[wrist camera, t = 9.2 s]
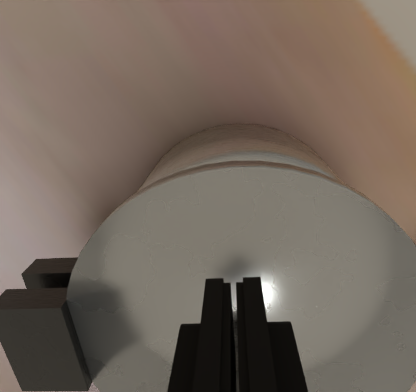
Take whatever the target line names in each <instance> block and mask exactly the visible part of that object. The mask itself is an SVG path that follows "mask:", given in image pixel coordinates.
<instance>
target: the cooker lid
mask: <svg viewBox="0 0 416 392" xmlns="http://www.w3.org/2000/svg"><path fill="white" fill-rule="evenodd" d="M243 277H260V278H261V284H262V291H263V297H264V304H265V311H266V317H267V322H283V321H290V322H291V324H292V328H293V332H294V336H295V340H296V344H297V348H298V352H299V356H300V360H301V364H302V368H303V372H304V376H305V380H306V385H307V389H308V392H407V391H408V390H409V389H410V388H411V386H412V385H413V384H414V382H415V381H416V245H415V244H414V242H413V241H412V239H411V238H410V237H409V236H408V235H407V234H406V233H405V232H404V231H403V230H402V229H401V228H400V226H399V225H398V224H397V223H396V222H395V221H394V220H393V219H392V218H391V217H390V216H389V215H388V214H387V213H386V212H385V211H384V210H383V209H382V208H380V207H379V206H378V205H376V204H375V203H374V202H373V201H371V200H370V199H369V198H368V197H366V196H365V195H364V194H362V193H361V192H359V191H357V190H355V189H354V188H352V187H350V186H348V185H347V184H345V183H343V182H341V181H339V180H337V179H334V178H332V177H329V176H327V175H324V174H322V173H319V172H317V171H314V170H310V169H306V168H302V167H298V166H294V165H290V164H284V163H276V162H268V161H227V162H219V163H212V164H205V165H201V166H197V167H193V168H190V169H186V170H182V171H179V172H176V173H174V174H171V175H169V176H167V177H164V178H162V179H159V180H157V181H155V182H153V183H151V184H150V185H148V186H146V187H144V188H143V189H141V190H139V191H138V192H136V193H134V194H133V195H132V196H130V197H129V198H128V199H127V200H125V201H124V202H123V203H122V204H120V205H119V206H118V207H117V208H116V209H115V210H114V211H113V212H112V213H111V214H110V215H109V216H108V217H107V218H106V219H105V220H104V221H103V223H102V224H101V225H100V226H99V227H98V229H97V230H96V231H95V232H94V234H93V235H92V236H91V238H90V239H89V241H88V242H87V244H86V245H85V247H84V248H83V250H82V251H81V253H80V255H79V257H78V259H77V261H76V264H75V266H74V268H73V270H72V273H71V277H70V281H69V285H68V288H39V289H6V290H5V291H4V292H3V293H2V294H1V295H0V342H1V344H2V347H3V349H4V351H5V353H6V356H7V358H8V360H9V362H10V365H11V367H12V369H13V371H14V374H15V376H16V378H17V380H18V383H19V385H20V387H21V389H22V391H88V390H89V388H90V385H91V383H92V382H93V383H94V384H95V386H96V387H97V388H98V389H99V390H100V391H101V392H167V390H168V385H169V379H170V374H171V369H172V364H173V359H174V354H175V349H176V344H177V339H178V334H179V329H180V326H181V324H194V323H200V322H201V314H202V306H203V297H204V289H205V281H206V279H209V278H223V279H224V283H231V295H232V309H233V323H234V336H235V350H236V384H237V392H239V370H238V335H237V300H236V282H243Z"/></svg>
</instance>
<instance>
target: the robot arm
mask: <svg viewBox="0 0 416 392" xmlns="http://www.w3.org/2000/svg"><path fill="white" fill-rule="evenodd" d="M236 300H237V335H238V370H239V392H308V389H307V385H306V380H305V376H304V372H303V368H302V364H301V360H300V356H299V352H298V348H297V344H296V340H295V336H294V332H293V328H292V324H291V322H290V321H283V322H267V317H266V311H265V304H264V297H263V291H262V284H261V278H260V277H243V282H236ZM167 392H237V384H236V350H235V336H234V323H233V309H232V295H231V283H224V279H223V278H209V279H206V281H205V289H204V297H203V306H202V314H201V322H200V323H194V324H181V326H180V329H179V334H178V339H177V344H176V349H175V354H174V359H173V364H172V369H171V374H170V379H169V385H168V390H167Z"/></svg>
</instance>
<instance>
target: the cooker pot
mask: <svg viewBox="0 0 416 392" xmlns="http://www.w3.org/2000/svg"><path fill="white" fill-rule="evenodd" d="M227 161H268V162H276V163H284V164H290V165H294V166H298V167H302V168H306V169H310V170H314V171H317V172H319V173H322V174H324V175H327V176H329V177H332V178H334V179H337V180H339V181H341V180H340V179H339V178H338V177H337V176H336V175H335V173H334V172H333V171H332V170H331V169H330V168H329V167H328V166H327V165H326V164H325V163H324V162H323V160H322V159H321V158H320V157H319V156H318V155H317V154H316V153H315V152H314V151H313V150H312V149H311V148H309V147H308V146H307V145H305V144H304V143H303V142H301V141H300V140H298V139H296V138H295V137H293V136H291V135H289V134H287V133H284V132H282V131H279V130H277V129H273V128H269V127H266V126H261V125H253V124H229V125H222V126H217V127H213V128H210V129H206V130H203V131H201V132H198V133H196V134H194V135H191V136H190V137H188V138H186V139H185V140H183V141H181V142H180V143H178V144H177V145H176V146H174V147H173V148H172V149H171V150H169V151H168V152H167V153H166V154H165V155H164V157H163V158H162V159H161V160H160V161H159V162H158V164H157V165H156V166H155V168H154V169H153V170H152V172H151V173H150V175H149V176H148V177H147V179H146V180H145V182H144V183H143V184H142V186H141V187H140V188H139V190H141V189H143V188H144V187H146V186H148V185H150V184H151V183H153V182H155V181H157V180H159V179H162V178H164V177H167V176H169V175H171V174H174V173H176V172H179V171H182V170H186V169H190V168H193V167H197V166H201V165H205V164H212V163H219V162H227ZM341 182H342V181H341ZM139 190H138V191H139ZM138 191H137V192H138ZM77 259H78V257H77V258H52V259H36V260H35V261H34V262H33V263H32V264H31V265H30V266H29V267H28V268H27V269H26V270H25V271H24V272H23V273H22V277H23V280H24V283H25V285H26V288H27V289H39V288H68V285H69V281H70V277H71V273H72V270H73V268H74V266H75V264H76V261H77Z"/></svg>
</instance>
